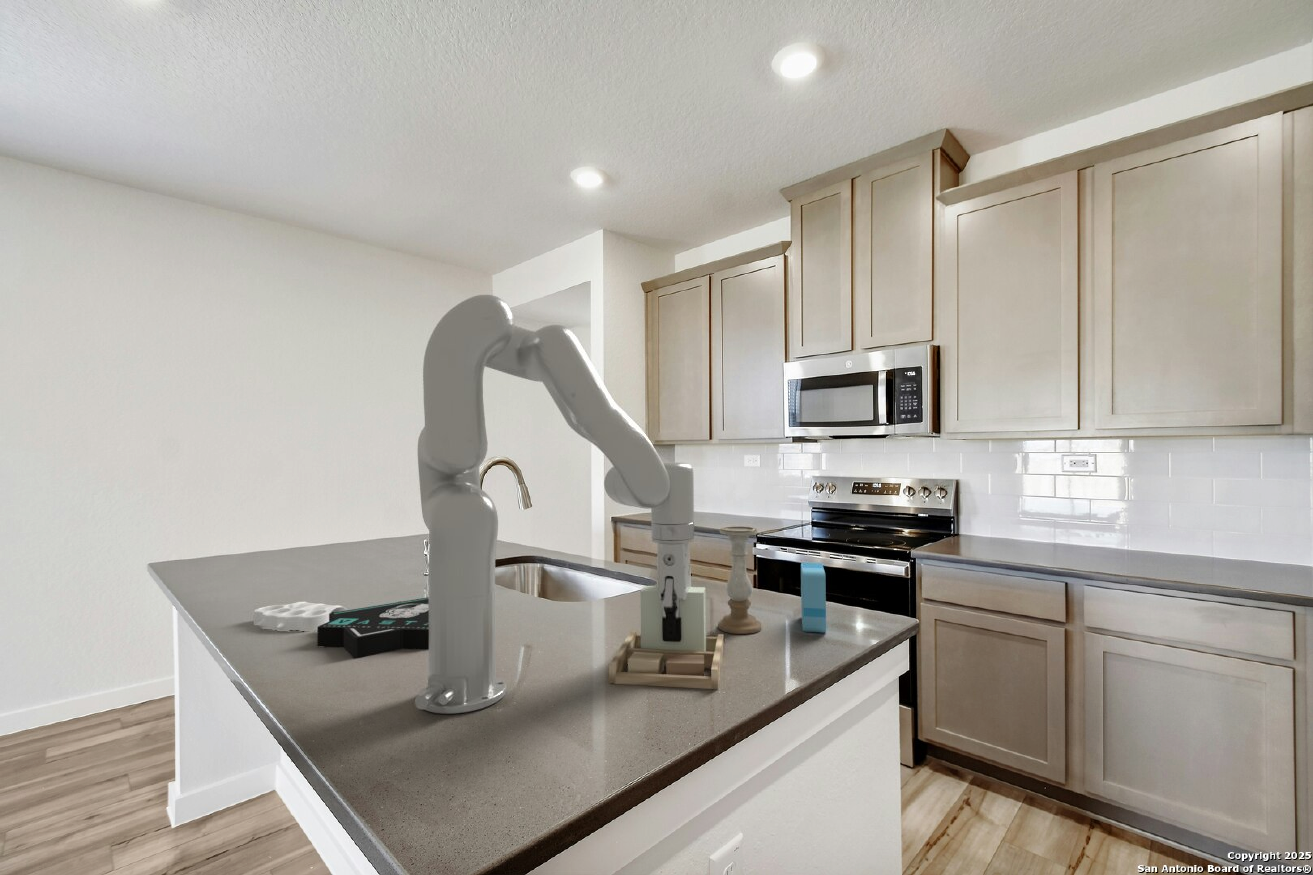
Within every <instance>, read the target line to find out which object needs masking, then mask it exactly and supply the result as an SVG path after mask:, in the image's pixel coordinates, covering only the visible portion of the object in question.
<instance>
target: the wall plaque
mask: <svg viewBox="0 0 1313 875" xmlns="http://www.w3.org/2000/svg"><path fill="white" fill-rule="evenodd" d="M316 631H317V633H316V634H317V635H316V637H317V642H316V644H317V646H324V647H323V648H341V647H342V648H344V650H345V651H346V652H347V653H348V655H350V656H351V657H352V658H353V659H361V658H366V657H372V656H375V655H380V654H386V653H389V652H390V653H391V652H394V651H399V650H426V651H427V650H428V651H429V596H427V597H421V598H416V599H411V600H404V601H396V602H393V603H392V602H391V603H385V604H379V605H372V606H365V607H361V608H360V607H359V608H352V609H346V611H340V612H334V613H329V622H327V623H325V624H323V625H320V626H318V627H317V630H316ZM317 646H316V647H317Z"/></svg>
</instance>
